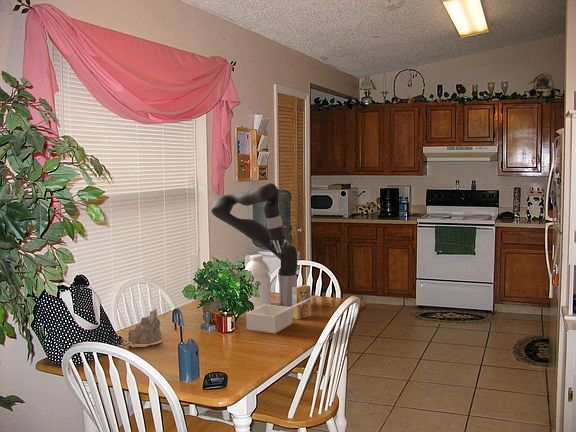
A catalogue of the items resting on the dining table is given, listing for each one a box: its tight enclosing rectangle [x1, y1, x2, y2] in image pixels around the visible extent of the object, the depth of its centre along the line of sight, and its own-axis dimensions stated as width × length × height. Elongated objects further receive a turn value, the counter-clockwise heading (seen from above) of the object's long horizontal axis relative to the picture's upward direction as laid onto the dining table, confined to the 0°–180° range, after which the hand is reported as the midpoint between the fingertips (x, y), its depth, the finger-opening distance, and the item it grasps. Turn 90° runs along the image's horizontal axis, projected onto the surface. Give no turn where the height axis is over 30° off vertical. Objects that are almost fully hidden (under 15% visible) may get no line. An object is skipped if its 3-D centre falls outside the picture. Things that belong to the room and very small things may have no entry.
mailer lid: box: [275, 294, 318, 316], centre depth 264 cm, size 1×17×15 cm
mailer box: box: [245, 304, 294, 335], centre depth 272 cm, size 15×17×8 cm
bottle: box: [244, 254, 272, 309], centre depth 306 cm, size 14×14×28 cm
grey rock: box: [127, 308, 164, 345], centre depth 255 cm, size 16×16×15 cm
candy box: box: [292, 284, 312, 320], centre depth 286 cm, size 9×4×15 cm, turn 129°
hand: (282, 259), depth 280 cm, fingers closed
